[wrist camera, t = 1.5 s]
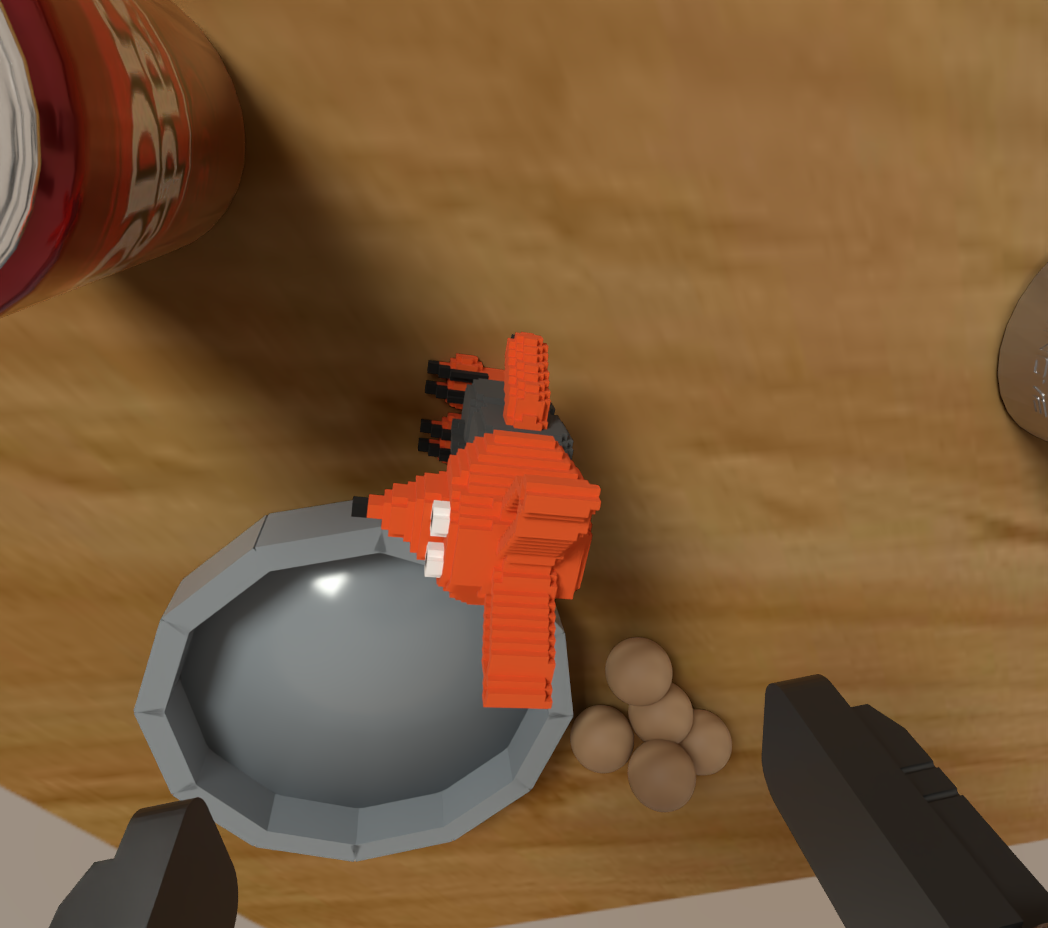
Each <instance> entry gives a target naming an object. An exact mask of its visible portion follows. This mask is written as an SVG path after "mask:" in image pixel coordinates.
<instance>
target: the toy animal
mask: <svg viewBox="0 0 1048 928" xmlns="http://www.w3.org/2000/svg"><path fill="white" fill-rule="evenodd" d="M547 352H548V345H547V344H546V343H543V338H542V337H541V336H537V335H534V334H533V333H526V332H521V333H516V332H515V335H513V334H512V336H511V338H508V341H507V346H506V352H505V370H501V369H493V368H486V367H483V365H482V362H479V361H478V357H477V356H473V355H465V354H458V353H456V358H450V363H448V362H440V361H432V360H429V362H428V373H431V374H438V376H439V378H446V379H447V383H445V382H437V381H429V380H426V386H425V393H427V394H435V395H436V398H442V399H445V401H446V402H447V403H450V406H452V407H455V409H462V414H457V413H449V412H448V417H442V421H434V420H425V419H421V426H420V432H424V433H431V437H435V438H439V440H435V439H425V438H419V443H418V451H423V452H428V456H434V457H438V460H439V461H442V463H447V472H444V471H439V474H434V473H425V474H424V476H417V475H416V482H410V481H408V484H397V483H393V488H392V490H390V489H385V494H384V496H383V495H371V494H369V498H367V497H356V496H354V497H353V503H352V513H351V517H362V518H374V519H382V524H381V529H382V530H388V537H400V538H403V542H410V553H417V560H425V568H424V571H425V577H436V582H437V584H438V586H439V587H443V591H449V597H450V598H455V600H461V602H467V604H470V605H484V614H483V618H484V622H483V637H482V639H483V646H482V654H483V655H482V660H481V661H482V669H483V676H484V677H483V683H482V684H483V692H482V700H483V707H494V708H530V709H551V707H552V703H553V702H552V698H551V694H552V690H553V689H552V685H551V682H552V678H553V674H554V670H555V666H556V663H555V660H554V658H555V654H556V651H555V648H554V646H555V642H556V639H555V636H554V634H555V630H556V627H555V624H554V623H555V618H556V616H555V612H554V611H555V607H556V604H555V601H554V600H555V598H560V599H573V594H574V591H576V590H577V589H580V585H581V581H582V577H583V573H584V569H585V564H586V560H587V556H588V552H589V548H590V544H591V540H592V533H591V528H592V523H591V517H592V514H595V512H596V510H599V509H600V505H601V501H600V499H599V495H600V491H601V489H600V487H599V485H592V484H589V482H588V480H584V478H583V476H582V474H581V472H580V470H579V469H578V468H576V466H575V464H574V462H573V461H572V460H571V459H572V455H573V449H572V445H573V440H572V438H571V436H570V435H569V433H568V431H567V429H566V427H565V426H564V424H563V422H561V421H560V419H559V417H558V415H554V412H555V408H554V406H553V405H552V403H551V401H550V399H549V398H550V393H551V392H550V390H549V389H548V387H549V380H548V379H549V372H548V370H547V367H548V362H547V359H548V353H547Z"/></svg>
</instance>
